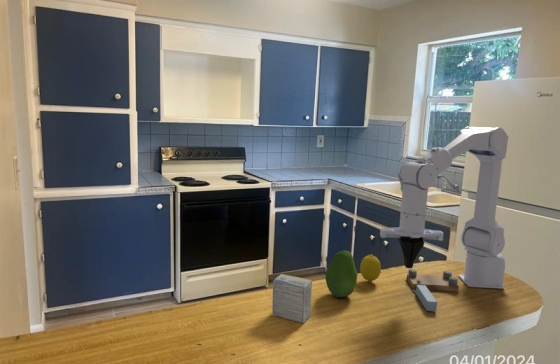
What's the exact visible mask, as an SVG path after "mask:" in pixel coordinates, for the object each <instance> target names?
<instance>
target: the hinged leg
mask: <svg viewBox="0 0 560 364" xmlns="http://www.w3.org/2000/svg"><path fill="white" fill-rule="evenodd" d="M415 294H416V296H417V299H418V300H419V301H420V303H421V304H422V306H423V308H424V309H425V311H426V312H437V309H438V300H436V298H435V297H434V296H433V294H432V292H431V290H428V288H427V287H426V286H425V285H417V287H416V293H415Z"/></svg>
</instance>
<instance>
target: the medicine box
mask: <svg viewBox="0 0 560 364" xmlns="http://www.w3.org/2000/svg"><path fill="white" fill-rule="evenodd" d="M312 285H313V280H311V279H308V278H304V277H303V278H302V277H299V276H295V275H293V276H292V275H288V274H284V273H283V274H282V273H280V274H279V275H278V276H277V277H276V278H274V279H273V281H272V305H271V306H272V308H271V315H272V316H273V315H275V316H274V317H277V316H279V317H278V318H281V317H282V318H281V319H286V320H289V321H294V322H298V323H302V324H305V323H306V321H307V320H308V319H309V318H310V316H311V315H312V313H311V311H312V289H313V288H312V287H313V286H312Z"/></svg>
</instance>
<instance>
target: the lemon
mask: <svg viewBox="0 0 560 364" xmlns="http://www.w3.org/2000/svg"><path fill="white" fill-rule="evenodd" d="M359 268H360V269H359V271H360V274H361V277H362V278H363V279H364V280H366V281H367V282H368V283H371V282H373V281H375V280H377V279H378V278H379V276H380V275H381V270H382V267H381V262H380V260H379V258H378V257H377V256H374V255H373V254H371V253H370V254H368V255H366V256H365V257H363V258H362V260H361V262H360V266H359Z"/></svg>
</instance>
